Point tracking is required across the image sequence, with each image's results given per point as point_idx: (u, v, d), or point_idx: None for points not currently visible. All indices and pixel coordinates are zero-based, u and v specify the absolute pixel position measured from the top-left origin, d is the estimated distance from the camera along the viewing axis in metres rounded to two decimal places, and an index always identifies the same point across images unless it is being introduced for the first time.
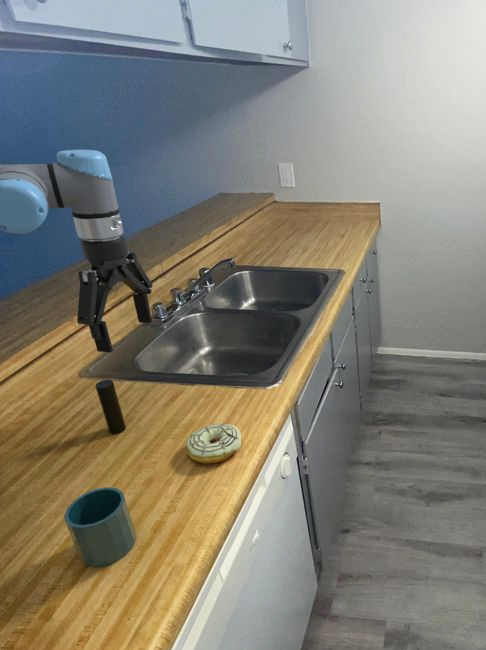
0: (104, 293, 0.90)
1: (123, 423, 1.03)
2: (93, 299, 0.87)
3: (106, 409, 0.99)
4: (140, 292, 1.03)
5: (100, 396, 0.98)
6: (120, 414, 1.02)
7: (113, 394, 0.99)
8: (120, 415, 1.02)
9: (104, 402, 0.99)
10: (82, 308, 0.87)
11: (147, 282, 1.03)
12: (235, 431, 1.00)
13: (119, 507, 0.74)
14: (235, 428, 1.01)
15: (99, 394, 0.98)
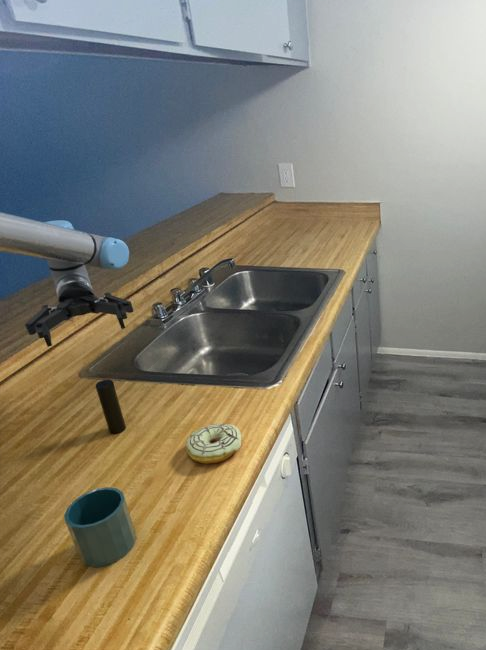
0: None
1: (123, 423, 1.03)
2: None
3: (106, 409, 0.99)
4: None
5: (100, 396, 0.98)
6: (120, 414, 1.02)
7: (113, 394, 0.99)
8: (120, 415, 1.02)
9: (104, 402, 0.99)
10: None
11: None
12: (235, 431, 1.00)
13: (119, 507, 0.74)
14: (235, 428, 1.01)
15: (99, 394, 0.98)
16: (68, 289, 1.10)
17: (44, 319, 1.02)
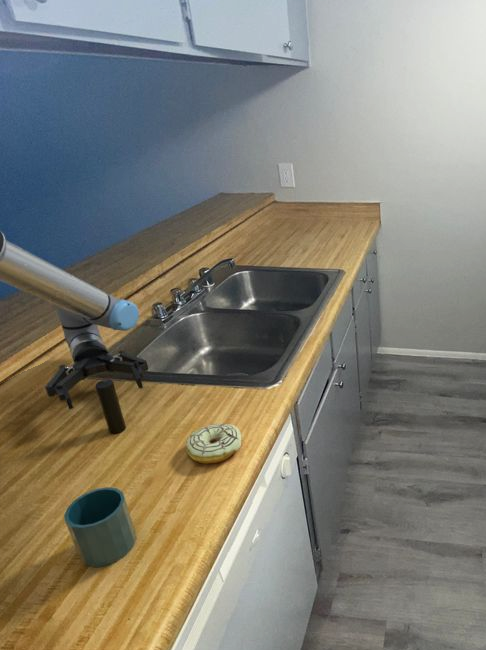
0: None
1: (123, 423, 1.03)
2: None
3: (106, 409, 0.99)
4: None
5: (100, 396, 0.98)
6: (120, 414, 1.02)
7: (113, 394, 0.99)
8: (120, 415, 1.02)
9: (104, 402, 0.99)
10: None
11: None
12: (235, 431, 1.00)
13: (119, 507, 0.74)
14: (235, 428, 1.01)
15: (99, 394, 0.98)
16: (84, 349, 1.14)
17: (63, 381, 1.05)
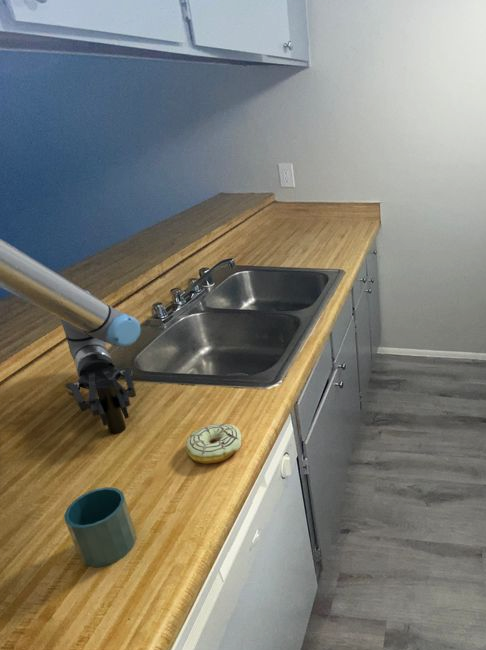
0: None
1: (123, 423, 1.03)
2: None
3: (106, 409, 0.99)
4: None
5: (100, 396, 0.98)
6: (120, 414, 1.02)
7: (113, 394, 0.99)
8: (120, 415, 1.02)
9: (104, 402, 0.99)
10: None
11: None
12: (235, 431, 1.00)
13: (119, 507, 0.74)
14: (235, 428, 1.01)
15: (99, 394, 0.98)
16: (89, 362, 1.08)
17: (92, 395, 1.01)
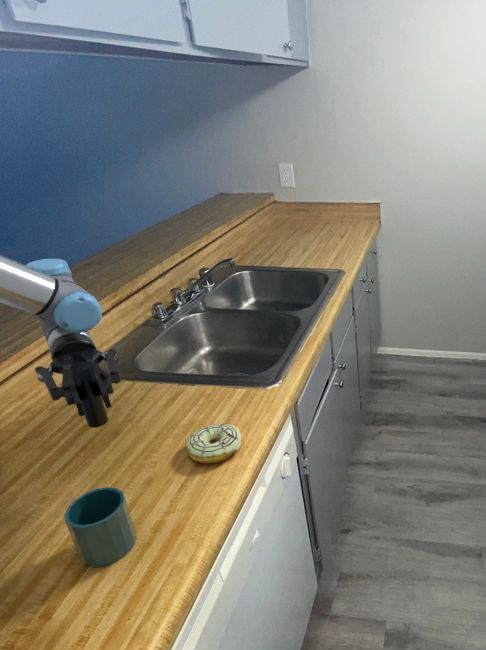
0: None
1: (105, 415, 0.85)
2: None
3: (83, 397, 0.82)
4: None
5: (76, 381, 0.80)
6: (101, 403, 0.84)
7: (93, 379, 0.82)
8: (101, 405, 0.84)
9: (81, 388, 0.81)
10: None
11: None
12: (235, 431, 1.00)
13: (119, 507, 0.74)
14: (235, 428, 1.01)
15: (74, 378, 0.80)
16: (65, 343, 0.90)
17: (66, 380, 0.83)
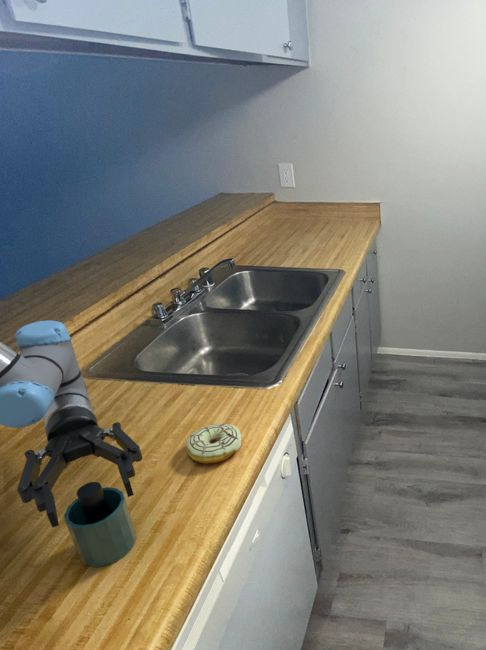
0: None
1: None
2: None
3: (91, 523, 0.73)
4: None
5: (83, 507, 0.72)
6: None
7: (102, 503, 0.73)
8: None
9: (89, 514, 0.72)
10: None
11: None
12: (235, 431, 1.00)
13: (119, 507, 0.74)
14: (235, 428, 1.01)
15: (82, 504, 0.72)
16: (62, 421, 0.79)
17: (43, 477, 0.71)
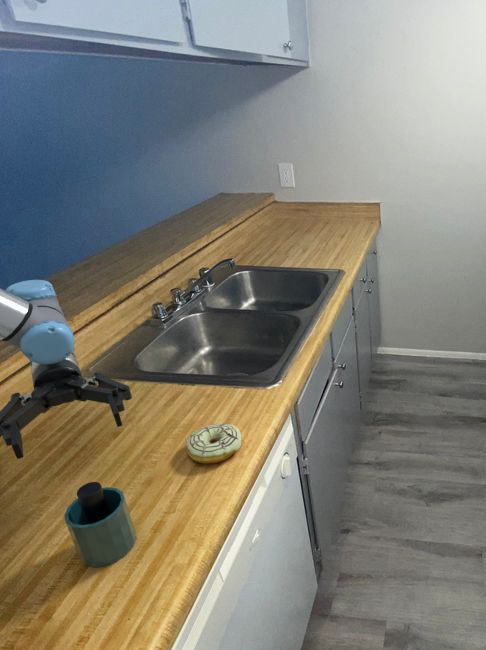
0: None
1: None
2: None
3: (91, 523, 0.73)
4: None
5: (83, 507, 0.72)
6: None
7: (102, 503, 0.73)
8: None
9: (89, 514, 0.72)
10: None
11: None
12: (235, 431, 1.00)
13: (119, 507, 0.74)
14: (235, 428, 1.01)
15: (82, 504, 0.72)
16: (47, 370, 0.86)
17: (14, 417, 0.77)
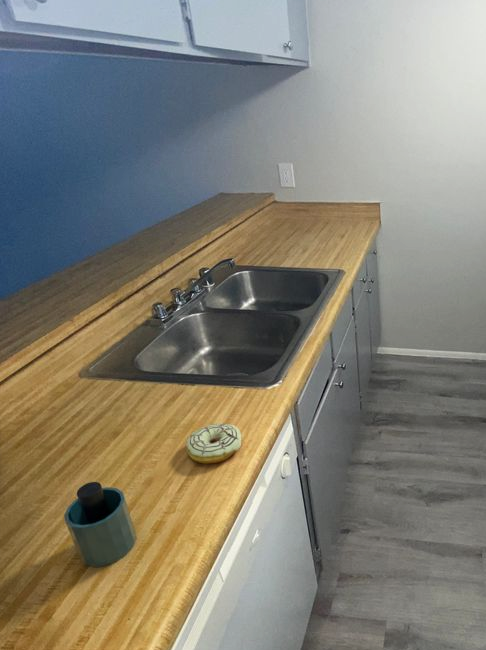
0: None
1: None
2: None
3: (91, 523, 0.73)
4: None
5: (83, 507, 0.72)
6: None
7: (102, 503, 0.73)
8: None
9: (89, 514, 0.72)
10: None
11: None
12: (235, 431, 1.00)
13: (119, 507, 0.74)
14: (235, 428, 1.01)
15: (82, 504, 0.72)
16: None
17: None
